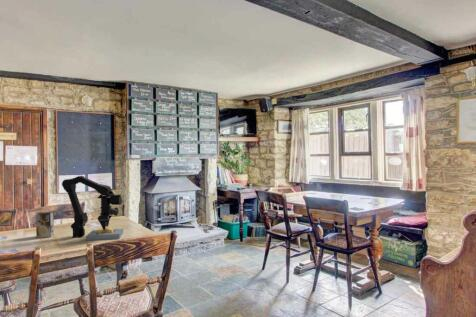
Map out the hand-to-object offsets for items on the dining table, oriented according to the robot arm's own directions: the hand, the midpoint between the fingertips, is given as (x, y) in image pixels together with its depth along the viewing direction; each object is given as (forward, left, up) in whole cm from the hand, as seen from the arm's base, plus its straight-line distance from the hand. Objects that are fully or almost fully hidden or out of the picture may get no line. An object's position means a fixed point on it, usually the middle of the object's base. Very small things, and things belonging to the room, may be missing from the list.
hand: (105, 228), depth 214 cm
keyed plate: (0, 0, -6) cm, 6 cm away
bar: (0, 0, -5) cm, 5 cm away
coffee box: (-40, +9, -6) cm, 42 cm away
